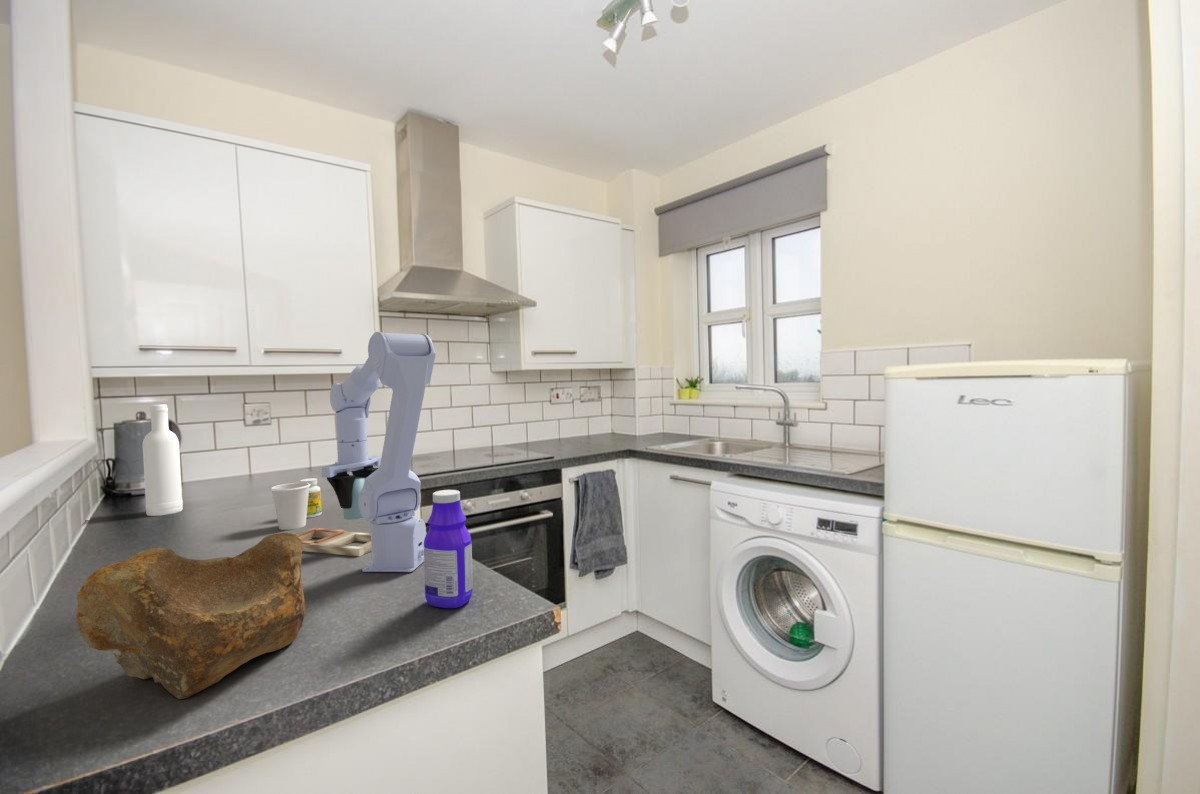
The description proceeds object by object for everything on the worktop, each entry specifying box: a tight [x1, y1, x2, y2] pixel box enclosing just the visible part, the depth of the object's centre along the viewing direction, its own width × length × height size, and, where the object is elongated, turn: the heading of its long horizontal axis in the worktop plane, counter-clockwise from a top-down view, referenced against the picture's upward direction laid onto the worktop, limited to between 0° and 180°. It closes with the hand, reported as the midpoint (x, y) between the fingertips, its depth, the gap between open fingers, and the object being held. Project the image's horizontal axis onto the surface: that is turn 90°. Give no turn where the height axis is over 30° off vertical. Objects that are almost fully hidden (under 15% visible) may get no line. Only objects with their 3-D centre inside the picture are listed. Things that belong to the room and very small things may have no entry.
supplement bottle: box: [299, 477, 323, 519], centre depth 138 cm, size 5×5×10 cm
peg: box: [342, 477, 365, 520], centre depth 110 cm, size 4×4×8 cm
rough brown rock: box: [75, 532, 307, 700], centre depth 64 cm, size 23×17×15 cm
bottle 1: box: [141, 403, 184, 517], centre depth 145 cm, size 8×8×30 cm
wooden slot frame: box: [295, 527, 371, 557], centre depth 112 cm, size 21×10×2 cm, turn 73°
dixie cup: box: [270, 482, 310, 531], centre depth 128 cm, size 8×8×10 cm
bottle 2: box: [423, 489, 473, 609], centre depth 82 cm, size 7×6×17 cm
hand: (354, 505), depth 110 cm, fingers closed on peg, 4 cm apart
